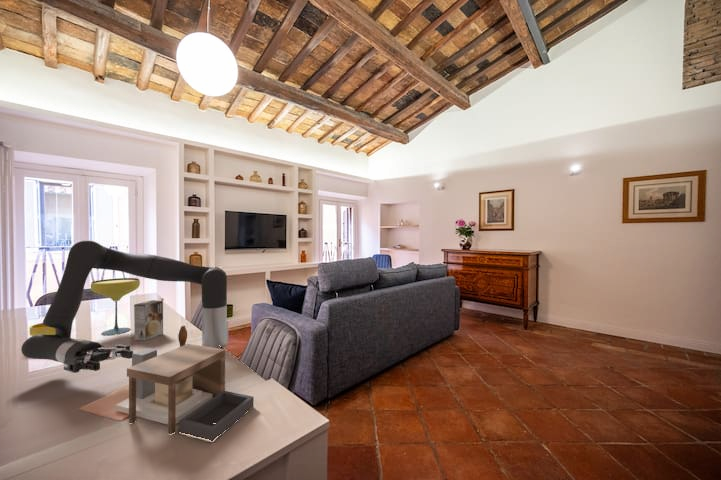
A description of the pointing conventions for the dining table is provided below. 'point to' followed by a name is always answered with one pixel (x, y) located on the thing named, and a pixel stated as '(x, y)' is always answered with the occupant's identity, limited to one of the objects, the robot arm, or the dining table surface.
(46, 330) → the plant pot
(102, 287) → the cocktail glass
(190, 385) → the birch block
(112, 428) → the dining table surface
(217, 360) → the small wooden table
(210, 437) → the pit trap
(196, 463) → the dining table surface
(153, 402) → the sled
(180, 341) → the hand bell
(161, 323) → the coffee box
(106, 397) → the pad
